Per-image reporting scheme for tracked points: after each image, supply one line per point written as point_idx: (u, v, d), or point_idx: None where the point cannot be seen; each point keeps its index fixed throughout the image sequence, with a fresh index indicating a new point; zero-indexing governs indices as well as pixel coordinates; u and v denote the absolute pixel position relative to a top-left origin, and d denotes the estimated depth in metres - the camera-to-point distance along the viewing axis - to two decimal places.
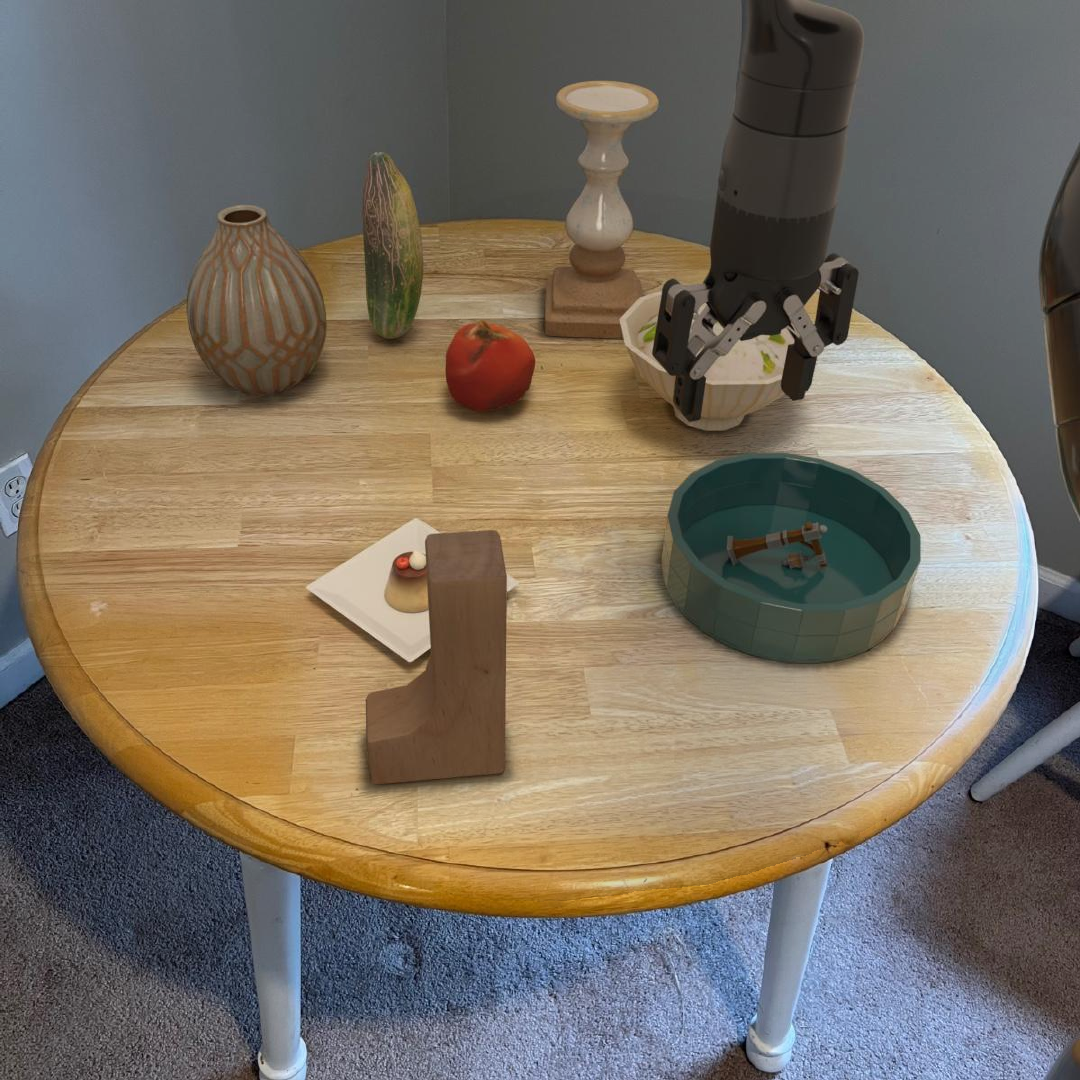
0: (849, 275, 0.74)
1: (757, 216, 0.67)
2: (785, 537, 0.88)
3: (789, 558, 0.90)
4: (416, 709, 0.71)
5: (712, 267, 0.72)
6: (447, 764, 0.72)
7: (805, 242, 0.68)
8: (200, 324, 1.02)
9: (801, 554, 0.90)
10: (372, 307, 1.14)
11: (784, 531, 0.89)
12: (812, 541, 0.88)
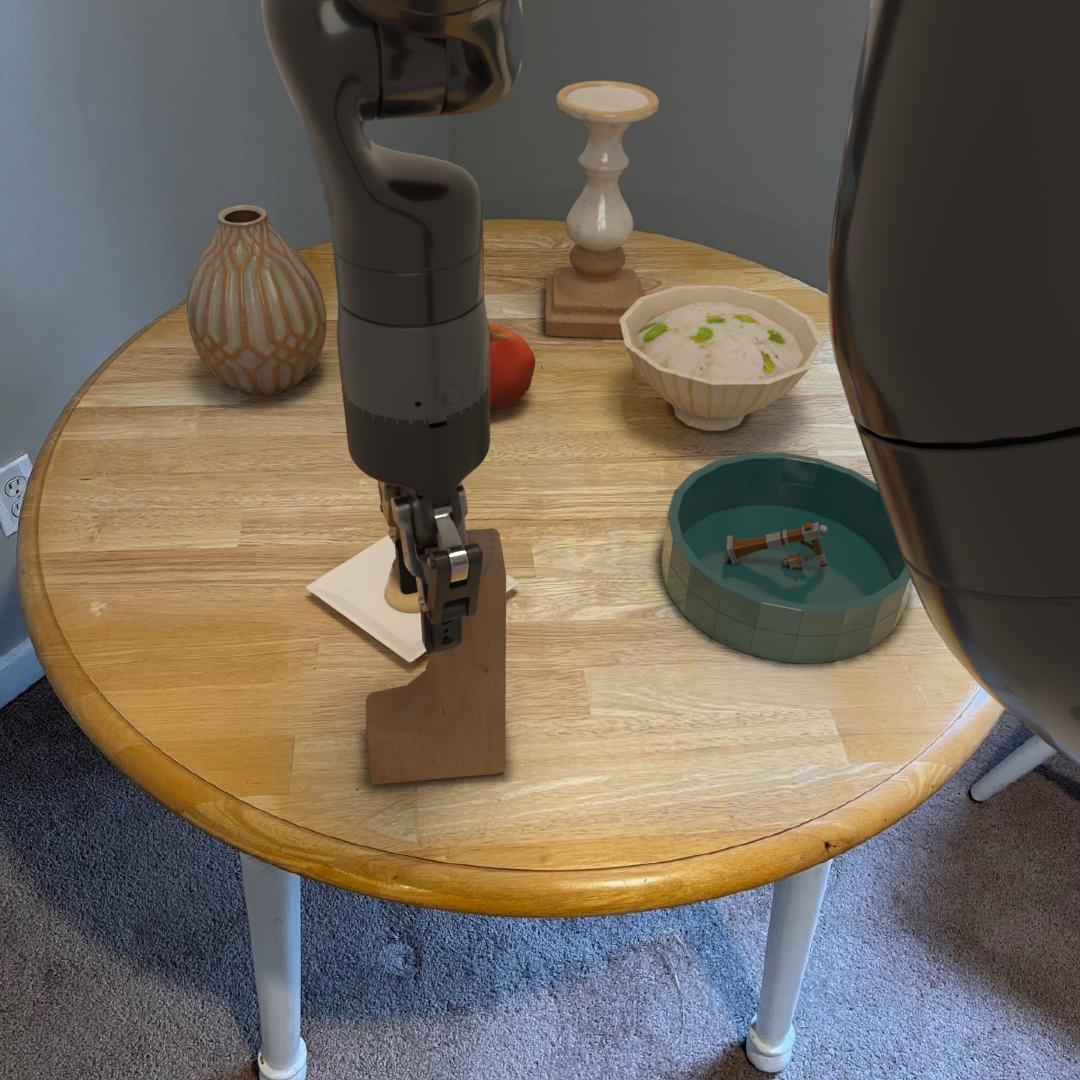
0: (431, 560, 0.55)
1: None
2: (785, 537, 0.88)
3: (789, 558, 0.90)
4: (416, 709, 0.71)
5: None
6: (447, 764, 0.72)
7: (346, 421, 0.55)
8: (200, 324, 1.02)
9: (801, 554, 0.90)
10: None
11: (784, 531, 0.89)
12: (812, 541, 0.88)
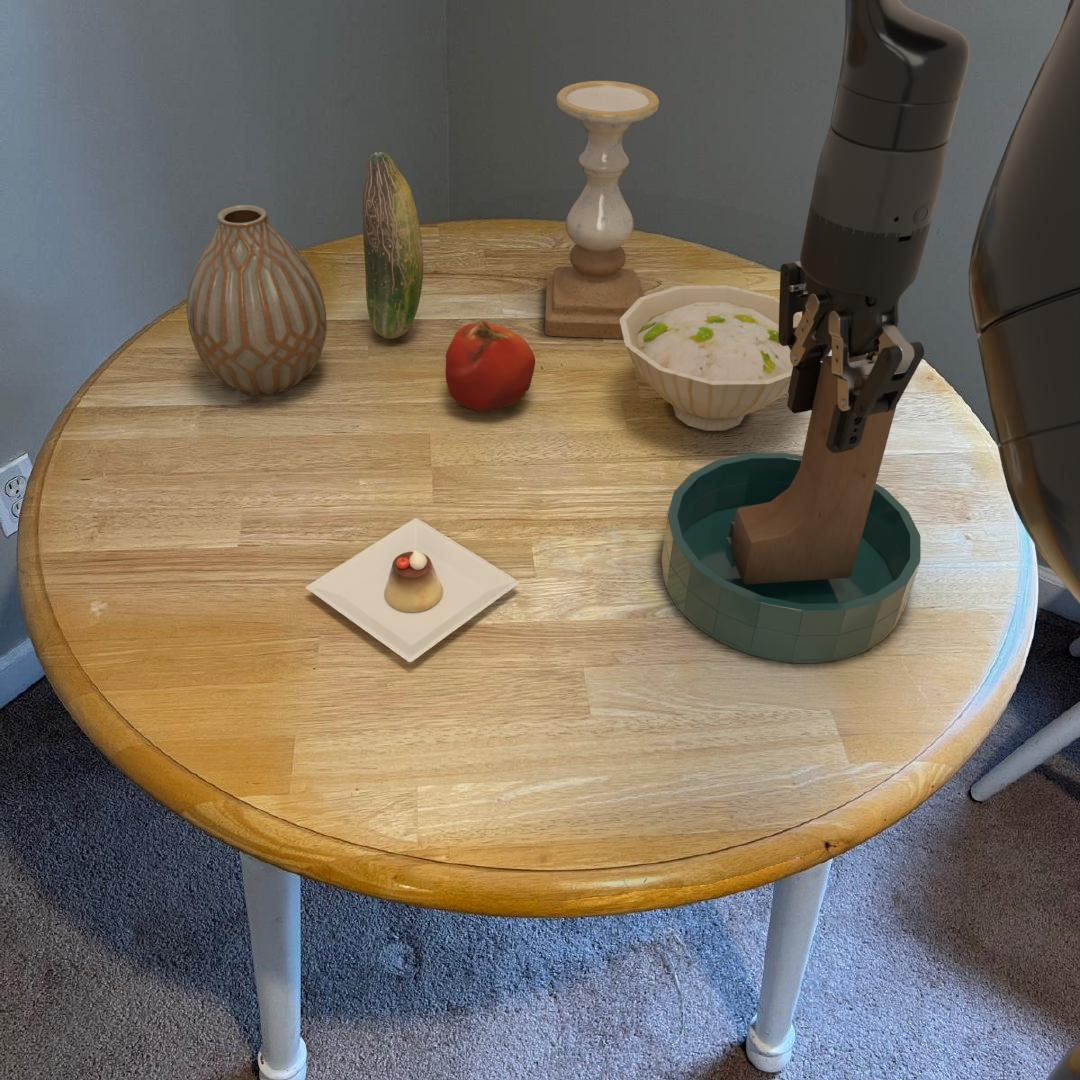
0: (884, 353, 0.69)
1: None
2: None
3: None
4: (789, 516, 0.84)
5: None
6: (808, 566, 0.85)
7: (815, 241, 0.69)
8: (200, 324, 1.02)
9: None
10: (372, 307, 1.14)
11: None
12: None
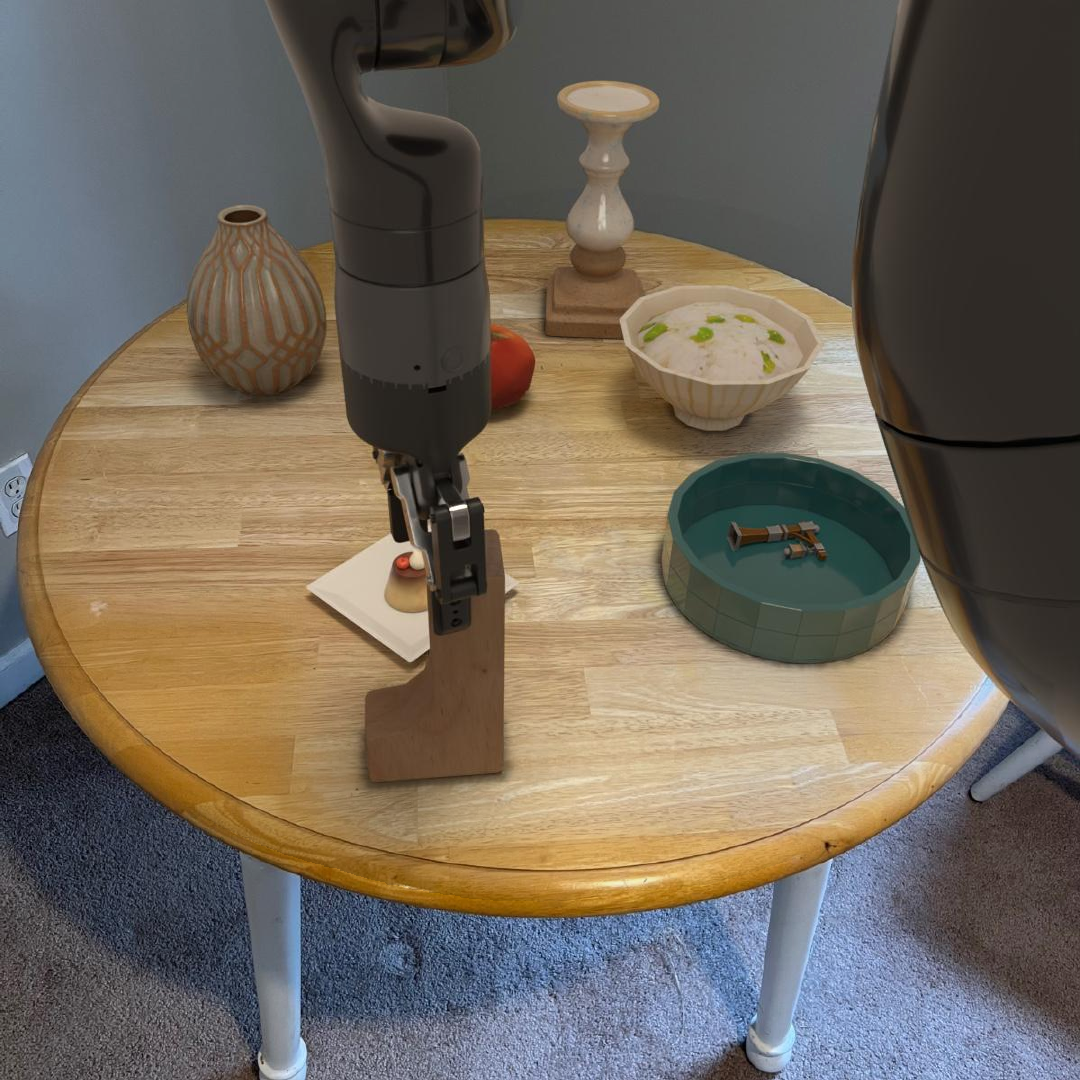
0: None
1: None
2: (783, 525, 0.93)
3: None
4: (415, 708, 0.71)
5: None
6: (445, 763, 0.72)
7: (345, 387, 0.54)
8: (200, 324, 1.02)
9: None
10: None
11: None
12: (808, 532, 0.92)
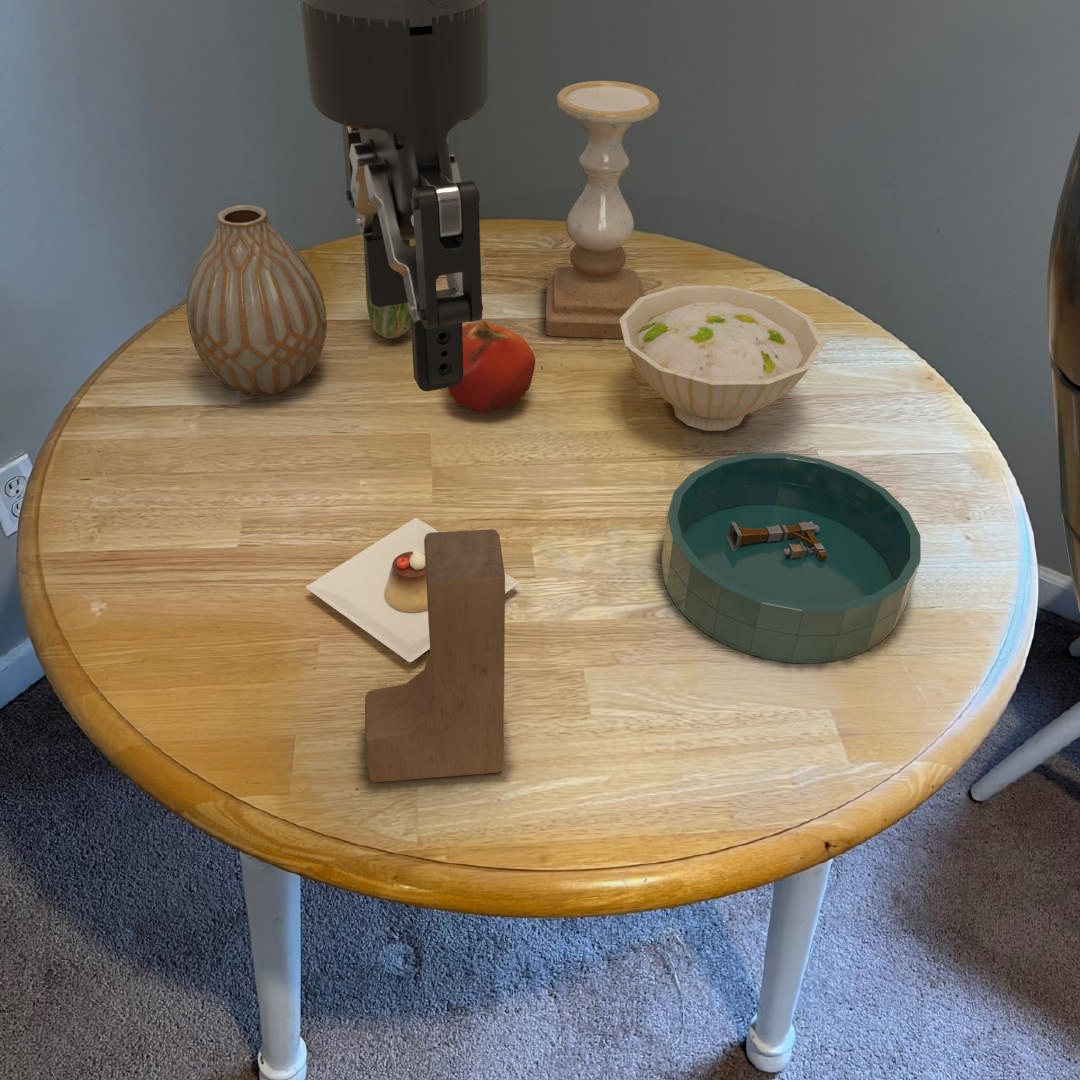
0: None
1: None
2: (783, 525, 0.93)
3: None
4: (415, 708, 0.71)
5: None
6: (445, 763, 0.72)
7: (307, 46, 0.44)
8: (200, 324, 1.02)
9: None
10: (372, 307, 1.14)
11: None
12: (808, 532, 0.92)
